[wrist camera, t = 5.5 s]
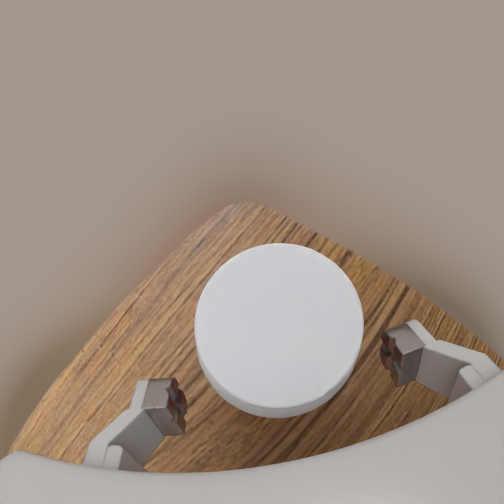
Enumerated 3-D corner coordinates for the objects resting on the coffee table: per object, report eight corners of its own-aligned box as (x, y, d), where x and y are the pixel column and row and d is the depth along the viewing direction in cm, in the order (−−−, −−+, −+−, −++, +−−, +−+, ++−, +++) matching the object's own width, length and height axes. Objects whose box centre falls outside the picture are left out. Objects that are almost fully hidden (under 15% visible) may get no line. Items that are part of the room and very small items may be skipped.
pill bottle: (249, 412, 16) (208, 465, 6) (215, 325, 19) (142, 264, 8) (341, 374, 16) (421, 373, 6) (303, 289, 19) (328, 192, 9)
